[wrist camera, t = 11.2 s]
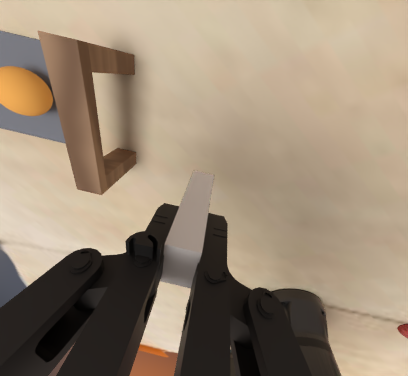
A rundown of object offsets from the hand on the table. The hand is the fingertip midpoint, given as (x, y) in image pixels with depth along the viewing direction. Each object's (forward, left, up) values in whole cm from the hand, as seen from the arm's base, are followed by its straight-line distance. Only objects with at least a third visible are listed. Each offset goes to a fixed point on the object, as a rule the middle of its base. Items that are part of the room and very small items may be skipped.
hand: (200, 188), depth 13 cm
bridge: (+13, 0, -14) cm, 19 cm away
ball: (+25, -1, -11) cm, 27 cm away
